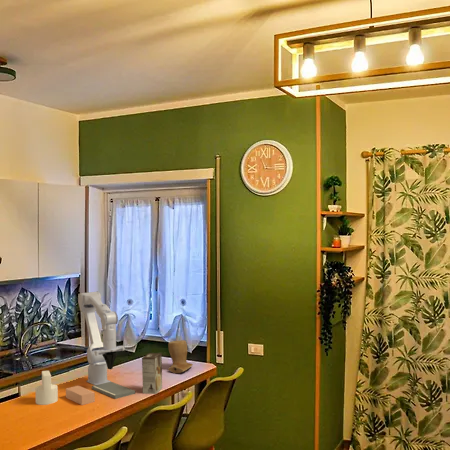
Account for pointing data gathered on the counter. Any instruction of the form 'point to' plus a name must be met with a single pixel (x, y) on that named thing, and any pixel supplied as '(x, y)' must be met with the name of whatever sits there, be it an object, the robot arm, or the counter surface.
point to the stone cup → (178, 356)
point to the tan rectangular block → (80, 395)
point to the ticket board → (113, 390)
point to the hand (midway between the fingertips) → (110, 368)
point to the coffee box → (152, 373)
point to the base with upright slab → (46, 390)
